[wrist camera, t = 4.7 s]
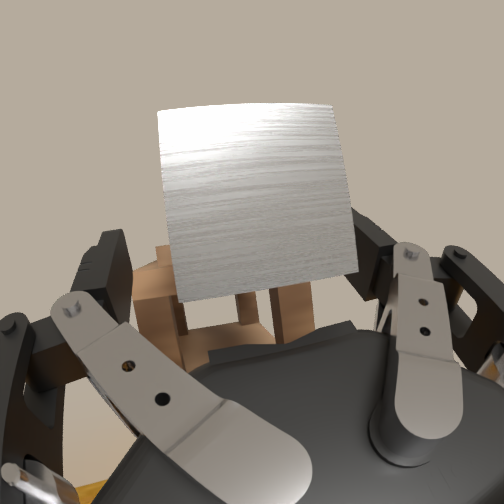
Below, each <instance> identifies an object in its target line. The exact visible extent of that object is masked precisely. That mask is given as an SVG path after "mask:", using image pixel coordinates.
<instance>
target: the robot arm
mask: <svg viewBox="0 0 504 504" xmlns="http://www.w3.org/2000/svg"><path fill="white" fill-rule="evenodd" d="M351 210H352V217H353V225H354V232H355V241H356V250H357V259H358V269H359V272H355V273H350V274H345V275H344V276H345V277H346V278H347V280H348V281H349V282H350V283H351V284H352V286H353V287H354V288H355V289H356V291H357V292H358V293H359V295H360V296H361V297H362V298H363V300H364V301H369V300H373V299H377V298H378V299H379V301H378V304H377V307H376V314H375V322H374V329H373V331H372V330H357V329H356V328H355V326H354V325H353V323H352V322H351V321H350V320H349V321H345V322H341V323H337V324H334V325H330V326H326V327H322V328H319V329H316V330H314V331H312V332H310V333H308V334H306V335H304V336H302V337H300V338H298V339H296V340H294V341H292V342H290V343H286V344H243V345H238V346H232V347H227V348H221V349H215V350H209V351H208V357H209V362H208V363H205V364H203V365H201V366H199V367H197V368H195V369H194V370H192V371H191V372H189V373H186V372H185V371H184V370H183V369H181V368H180V367H179V366H178V365H176V364H175V363H174V362H173V361H172V360H170V359H169V358H168V357H167V356H166V355H164V354H163V353H162V352H161V351H160V350H158V349H157V348H156V347H155V346H154V345H153V344H151V343H150V342H149V341H148V340H147V339H146V338H145V337H144V336H142V335H141V334H140V333H139V332H138V331H137V330H136V329H135V328H134V327H132V326H131V325H130V324H129V317H130V306H131V296H132V286H133V270H132V265H131V261H130V257H129V253H128V249H127V245H126V241H125V236H124V233H123V230H122V229H117V230H111V231H105V232H102V235H101V237H100V240H99V243H98V245H97V246H92V247H91V248H90V249H89V250H88V251H87V252H86V253H85V254H84V255H83V258H82V260H81V263H80V264H81V265H80V266H79V268H78V272H77V273H76V276H75V279H74V282H73V284H72V287H71V290H70V293H67V294H65V295H63V296H61V297H60V298H59V299H58V300H57V301H56V302H55V303H54V304H53V306H52V308H51V312H50V314H51V316H49V317H47V318H44V319H41V320H38V321H36V322H33V323H30V322H29V320H28V318H27V317H26V315H24V314H23V313H18V312H17V313H12V314H9V315H7V316H5V317H4V318H3V319H1V320H0V504H80V502H79V498H78V494H77V492H76V490H75V488H74V487H73V485H72V484H71V483H70V482H69V481H68V480H66V479H65V478H63V456H62V441H63V436H62V435H63V411H64V396H65V385H66V384H67V383H70V382H73V381H76V380H78V379H81V378H84V377H87V378H88V380H89V381H90V383H91V384H92V385H93V386H94V388H95V389H96V390H97V391H98V393H99V394H100V395H101V397H102V398H103V399H104V400H105V402H106V403H107V404H108V405H109V407H110V408H111V409H112V410H113V411H114V412H115V414H116V415H117V416H118V417H119V418H120V420H121V421H122V422H123V423H124V424H125V426H126V427H127V428H128V429H129V430H130V431H131V433H132V434H133V435H134V436H135V437H136V438H137V440H136V441H135V442H134V444H133V445H132V447H131V448H130V449H129V451H128V452H127V454H126V455H125V456H124V458H123V459H122V461H121V462H120V464H119V465H118V467H117V468H116V469H115V471H114V472H113V473H112V475H111V476H110V477H109V479H108V480H107V482H106V483H105V484H104V486H103V487H102V489H101V490H100V491H99V493H98V494H97V496H96V497H95V498H94V500H93V501H92V503H91V504H504V284H503V283H502V282H501V281H500V280H499V279H498V278H497V277H496V276H495V275H494V274H493V273H492V272H491V271H490V270H489V269H487V268H486V267H485V266H484V265H483V264H482V263H481V262H480V261H478V259H476V258H475V257H474V256H473V255H472V254H471V253H469V252H468V251H467V250H465V249H463V248H461V247H458V246H452V245H450V246H446V247H445V248H444V251H443V254H442V257H441V258H440V257H429V254H428V253H427V251H426V250H425V249H423V248H422V247H420V246H418V245H416V244H413V243H407V242H400V243H397V242H396V241H395V240H394V239H393V238H391V237H390V236H389V235H388V234H387V233H386V232H385V231H383V230H381V228H380V227H379V226H377V225H375V223H374V222H372V221H371V220H370V219H369V218H367V217H365V216H363V215H361V214H359V213H358V212H357V211H355V210H354V209H353V208H352V207H351ZM464 289H465V290H466V291H467V292H468V294H469V295H470V296H471V297H472V298H473V299H474V300H475V301H476V304H477V313H476V315H475V317H474V319H473V321H472V320H471V319H470V318H469V317H468V316H467V315H466V314H465V312H464V311H463V310H462V309H461V308H460V307H459V306H458V305H457V303H458V301H459V298H460V296H461V294H462V292H463V290H464ZM453 350H454V351H455V353H456V354H457V355H458V357H459V358H460V360H461V361H462V362H463V364H464V365H465V367H466V368H467V369H468V370H467V369H465V368H463V367H460V365H459V363H458V362H456V361H455V360H454V358H453ZM25 383H26V385H25ZM24 385H25V390H24ZM23 391H24V395H23Z"/></svg>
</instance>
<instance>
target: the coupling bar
mask: <svg viewBox="0 0 504 504" xmlns="http://www.w3.org/2000/svg"><path fill="white" fill-rule="evenodd" d="M158 125H159V139H160V140H159V142H160V156H161V168H162V180H163V190H164V201H165V210H166V217H167V227H168V235H169V242H170V250H171V257H172V264H173V271H174V277H175V283H176V290H177V296H178V301H179V303H183V302H190V301H196V300H203V299H210V298H216V297H222V296H228V295H235V294H241V293H247V292H253V291H259V290H265V289H270V288H276V287H282V286H287V285H293V284H298V283H304V282H309V281H314V280H320V279H325V278H330V277H335V276H340V275H345V274H350V273H355V272H359V269H358V259H357V250H356V241H355V232H354V225H353V217H352V210H351V203H350V196H349V191H348V184H347V178H346V172H345V167H344V162H343V156H342V151H341V145H340V140H339V136H338V131H337V126H336V122H335V117H334V113H333V109H332V105H322V104H293V103H268V104H267V103H261V104H232V105H215V106H203V107H192V108H183V109H174V110H166V111H158Z"/></svg>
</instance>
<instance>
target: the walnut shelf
mask: <svg viewBox="0 0 504 504" xmlns="http://www.w3.org/2000/svg"><path fill="white" fill-rule="evenodd" d="M156 254H157V260H156V261H154V262H151V263H149V264H147V265H145V266H143V267H141V268H138V269H136V270H134V271H133V286H132V298H133V304H134V309H135V314H136V319H137V324H138V328H139V333H140V334H141V335H142V336H144V337H145V338H146V339H147V340H148V341H149V342H150V343H151V344H153V345H154V346H155V347H156V348H157V349H158V350H160V351H161V352H162V353H163V354H164V355H166V356H167V357H168V358H169V359H170V360H172V361H173V362H174V363H175V364H176V365H178V366H179V367H180V368H181V369H183V370H184V371H185V372H186V373H189V372H191V371H192V370H194V369H195V368H197V367H199V366H201V365H203V364H205V363H208V362H209V357H208V351H209V350H215V349H221V348H227V347H232V346H238V345H243V344H286V343H290V342H292V341H294V340H296V339H298V338H300V337H302V336H304V335H306V334H308V333H310V332H312V331H314V330H315V325H314V315H313V304H312V294H311V285H310V281H309V282H304V283H298V284H293V285H287V286H282V287H276V288H270V289H269V294H270V302H271V310H272V318H273V326H274V333H275V338H274V337H273V336H272V335H271V334H270V333H269V332H268V331H267V330H266V329H265V328H264V327H263V326H262V325H261V324H260V323H259V316H258V309H257V301H256V294H255V291H253V292H247V293H241V294H235V299H236V306H237V313H238V320H239V322H234V323H228V324H222V325H216V326H210V327H205V328H198V329H191V330H188V328H187V322H186V316H185V311H184V305H183V303H179V301H178V296H177V290H176V283H175V277H174V271H173V264H172V257H171V250H170V245H164V246H158V247H156Z"/></svg>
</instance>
